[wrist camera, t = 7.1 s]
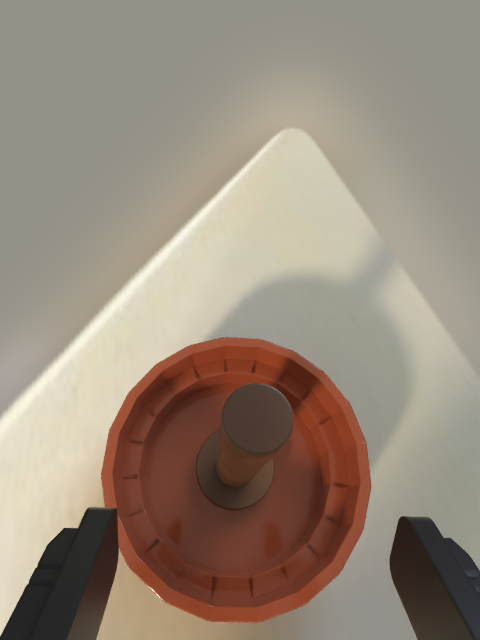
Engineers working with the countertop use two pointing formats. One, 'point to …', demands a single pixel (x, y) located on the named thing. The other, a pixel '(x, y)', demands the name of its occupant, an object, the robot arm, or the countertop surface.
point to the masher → (244, 446)
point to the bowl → (246, 524)
